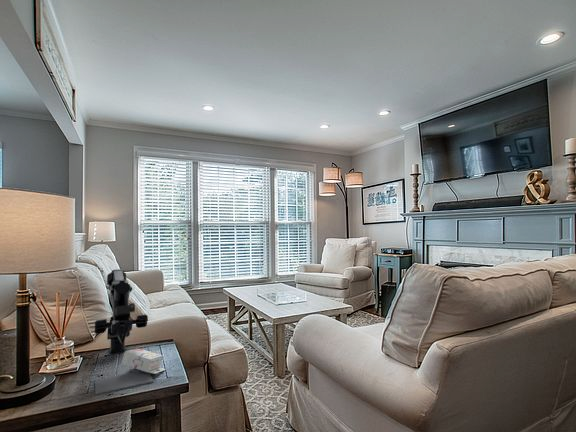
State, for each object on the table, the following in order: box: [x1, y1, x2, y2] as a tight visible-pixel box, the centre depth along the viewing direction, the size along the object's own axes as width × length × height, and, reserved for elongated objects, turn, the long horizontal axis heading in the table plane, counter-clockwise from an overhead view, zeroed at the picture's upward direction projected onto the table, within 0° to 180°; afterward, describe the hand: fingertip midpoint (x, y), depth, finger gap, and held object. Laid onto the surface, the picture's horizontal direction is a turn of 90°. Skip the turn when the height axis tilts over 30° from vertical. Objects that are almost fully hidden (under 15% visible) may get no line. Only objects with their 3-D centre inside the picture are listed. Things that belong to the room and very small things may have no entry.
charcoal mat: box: [94, 370, 154, 396], centre depth 119 cm, size 11×18×1 cm, turn 121°
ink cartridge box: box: [121, 348, 167, 374], centre depth 128 cm, size 9×5×15 cm
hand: (122, 343), depth 127 cm, fingers closed
